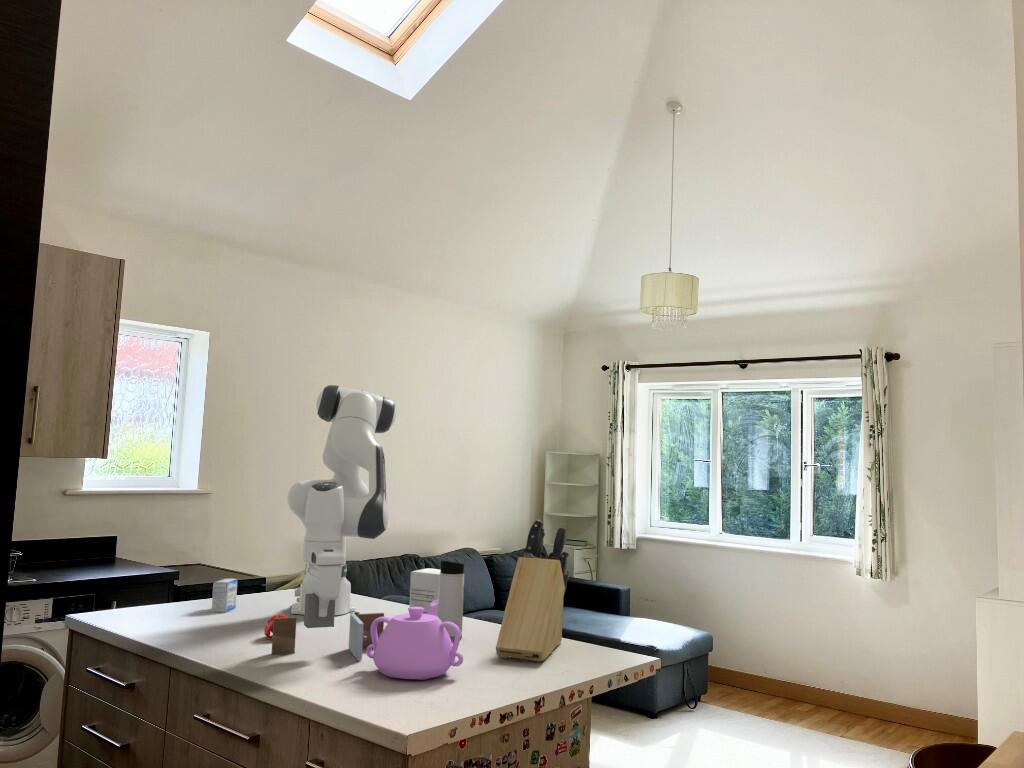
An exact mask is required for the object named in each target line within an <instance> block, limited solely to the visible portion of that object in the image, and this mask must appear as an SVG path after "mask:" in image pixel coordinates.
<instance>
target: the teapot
mask: <svg viewBox="0 0 1024 768" xmlns="http://www.w3.org/2000/svg"><path fill="white" fill-rule="evenodd" d="M437 605H438V600H434V601H432V602H431V603H430V605H429V608H428V611H427V614H423V611H424V608H422V607H410V608H409V607H408V608H407V611H408V613H403V614H402V613H401V614H396V615H394V616H392V618H390V617H388V616H384V617H379V618H377V619H375V620H374V621H373V622H372V624H371V638H372V643H373V645H369V646H368V647H367V648H366V651H365V652H366V653H365V654H366V656H367V657H369V659H373V662H374V663H373V664H374V665H375V667H376V668H377V669H378V671H379V672H380V673H381V674H382V675H384V676H387V677H389V678H394V679H403V680H417V681H418V680H419V681H425V680H426V681H427V680H429V679H432V678H437V677H441V676H442V675H445V674H446V672H447V671H448V670H449V669H450V668H451V667H459V666H461V665H462V664H463V663H464V656H463V654H462V653H461V652H457V651H458V649H459V645H460V641H461V639H460V637H461V632H460V629H459V627H458V626H457V625H456V624H454V623H452V622H443V623H442V622H441V620H440V619H439V618H438V617H437V616H436V609H437ZM379 622H384V623H386V626H384V628H383V632H382V633H381V635H380V637H379V639H378V636H377V624H378V623H379ZM445 627H450V628H452V629H453V630H454V633H455V639H454V641H451V639H450V637H449V634H448V632H447V630H446V629H445ZM372 649H373V650H372ZM456 657H457V658H458V660H456Z"/></svg>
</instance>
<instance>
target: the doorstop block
mask: <svg viewBox="0 0 1024 768" xmlns="http://www.w3.org/2000/svg"><path fill="white" fill-rule="evenodd" d="M318 608H319V597H318V596H317V595H315V594H306V596H305V614H304V617H303V618H304V619H303V625H304V627H305V628H306V629H315V628H316V629H317V628H318V629H319V628H333V627H334V626H335V615H334V614H335V600H329V605H328V608H327V616H326V617H320V616H319V615H318Z"/></svg>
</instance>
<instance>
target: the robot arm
mask: <svg viewBox="0 0 1024 768" xmlns="http://www.w3.org/2000/svg"><path fill="white" fill-rule="evenodd" d="M316 411H317V415H318V417H319V418H320V419H321V420H323V421H324V422H327V423H331V424H330V427H329V431H328V433H327V437H326V441H325V445H324V447H323V453H322V458H321V459H322V462H323V464H324V466H325V467H326V468H327V469H329V471H331V472H332V473H333V476H332V478H331V479H312V478H311V479H307V480H301V481H297V482H295V483H294V484H293V485H292V486H291V487H290V489H289V491H288V494H287V504H288V507H289V509H290V510H291V512H292V513H293V514H294V515H295V516H297V518H298V519H299V520H300V521H301V523H302V524H303V526H304V529H305V535H304V538H303V550H302V551H303V553H302V561H304V562H306V564H305V568H304V575H305V576H304V579H303V580H302V582H301V583H300V586H298V587H297V588H295V589H294V597H296V601H293V602H292V604H291V610H290V614H293V615H304V614H305V596H306V594H315V595H317V596H318V597H319V608H318V615H319V616H320V617H326V616H327V608H328V605H329V600H335V614H334V616H340V615H345V614H348V613H353V612H356V607H355V606H353V605H351V602H352V599H351V598H352V597H351V594H352V592H351V591H352V590H351V589H352V587H351V585H352V584H351V582H350V580H348V579H347V578H346V576H347V573H348V572H347V571H348V566H347V563H346V558H347V557H346V556H347V541H348V540H347V537H351V538H352V537H353V538H354V537H355V538H356V537H357V538H361V539H370V540H375V539H376V538H378V537H379V536H381V535H382V534H384V533H385V531H387V528H388V524H389V511H388V507H387V483H386V482H387V481H386V479H387V478H386V477H387V476H386V461H385V460H386V459H385V453H384V449H383V446H382V444H380V443H378V442H377V441H376V438H375V434H384V433H386V432H388V431H390V428H392V426H393V424H394V423H395V420H396V415H397V412H396V411H397V410H396V403H395V402H394V401H393V400H392V399H390V398H389V397H386V396H381V395H378V394H376V393H372V392H370V391H366V390H360V389H355V388H352V387H351V388H350V387H349V388H348V387H342V386H339V385H338V384H337V385H336V384H334V385H333V384H331V385H326V386H325V387H324V388H323V390H321V392H320V393H319V394H318V396H317V400H316ZM360 467H361V468H363V469H365V470H366V471H367V472H368V485H367V483H365V482H364V481H363V480H362V476H361V473H360Z"/></svg>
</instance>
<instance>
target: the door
mask: <svg viewBox="0 0 1024 768" xmlns="http://www.w3.org/2000/svg"><path fill="white" fill-rule="evenodd" d="M349 615H350V616H349V636H348V650H349V651H350V652H351V653H352V654H353V655H352V656H354V657H355V659H356V660H357V661H362V660H363V649H362V646H363V641H367V636H363V626H364V623H363V622H362V621H361V620H360V619H359V618H358V617H357V616H356V615H355V614H354V612H349Z"/></svg>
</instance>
